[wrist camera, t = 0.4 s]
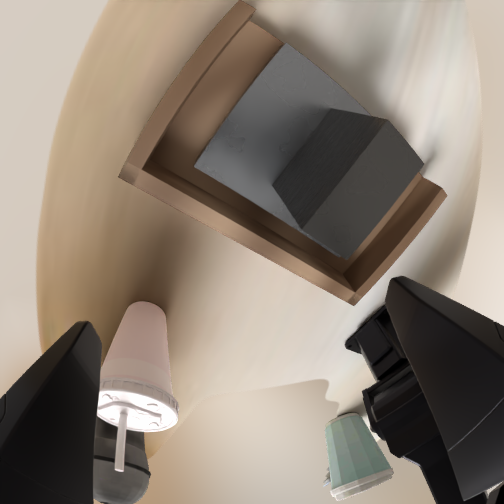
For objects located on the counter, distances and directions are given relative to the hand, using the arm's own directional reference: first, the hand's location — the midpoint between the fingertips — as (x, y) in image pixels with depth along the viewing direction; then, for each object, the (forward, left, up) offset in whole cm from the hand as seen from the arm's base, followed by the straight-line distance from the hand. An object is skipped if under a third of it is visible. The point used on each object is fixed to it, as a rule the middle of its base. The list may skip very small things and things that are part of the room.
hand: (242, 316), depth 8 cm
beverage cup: (-2, +24, -13) cm, 27 cm away
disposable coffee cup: (-39, +24, -13) cm, 47 cm away
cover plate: (-4, -5, -12) cm, 13 cm away
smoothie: (-1, +14, -13) cm, 19 cm away
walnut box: (-4, -4, -13) cm, 14 cm away
